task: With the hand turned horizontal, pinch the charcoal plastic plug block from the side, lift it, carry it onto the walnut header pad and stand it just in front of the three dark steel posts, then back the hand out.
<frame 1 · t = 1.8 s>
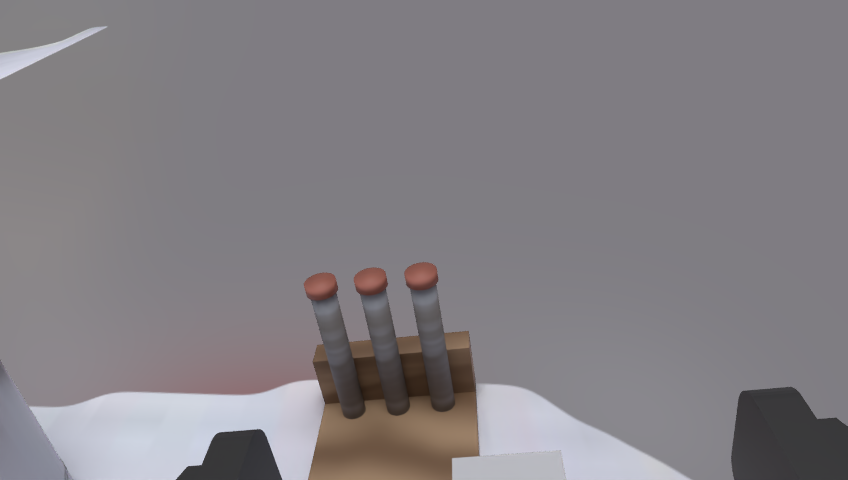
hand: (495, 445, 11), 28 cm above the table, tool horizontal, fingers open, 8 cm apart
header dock: (394, 475, 46), on the table
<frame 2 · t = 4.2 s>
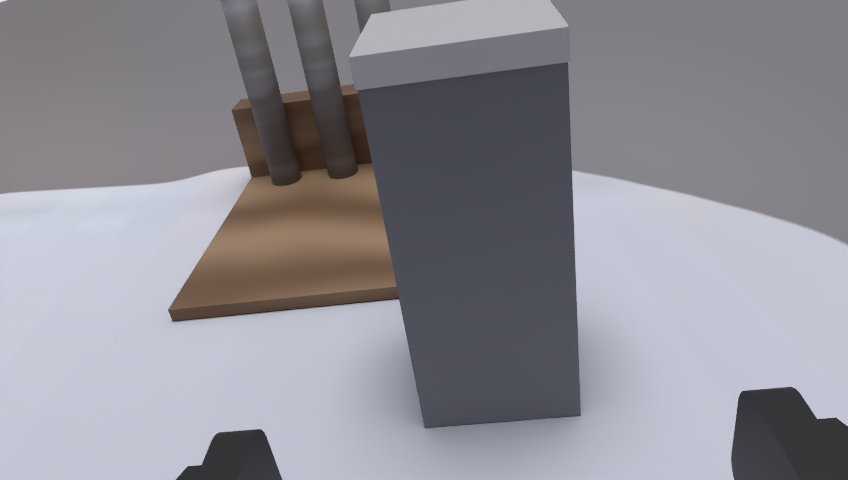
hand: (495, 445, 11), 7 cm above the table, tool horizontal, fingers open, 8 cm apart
plug block: (496, 369, 23), on the table
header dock: (329, 229, 34), on the table
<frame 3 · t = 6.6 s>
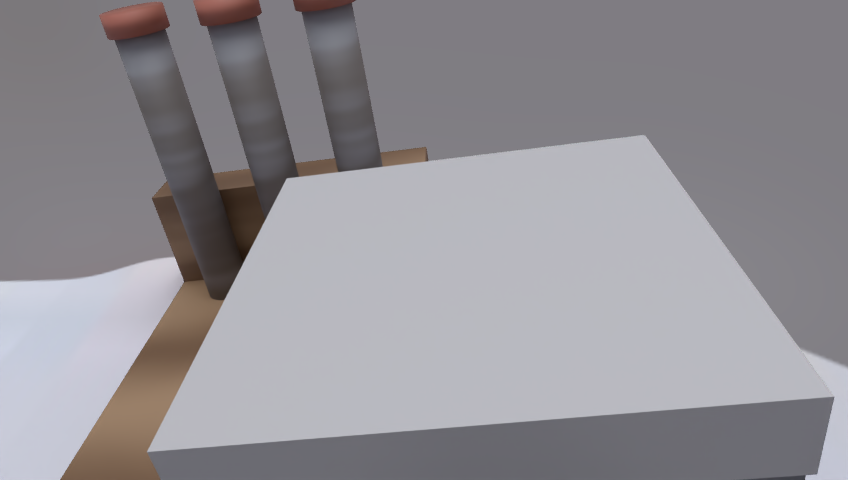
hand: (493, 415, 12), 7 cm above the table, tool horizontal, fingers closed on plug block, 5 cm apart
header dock: (278, 383, 24), on the table
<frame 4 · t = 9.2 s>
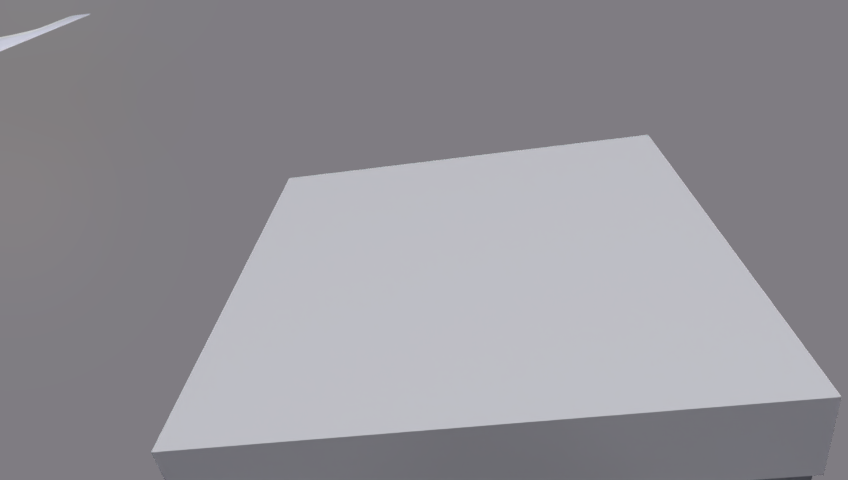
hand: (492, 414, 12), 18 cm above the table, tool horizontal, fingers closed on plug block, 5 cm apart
when the fingers open (8 cm above the table, at t = 11.6 s): plug block stays where it is, resting on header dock.
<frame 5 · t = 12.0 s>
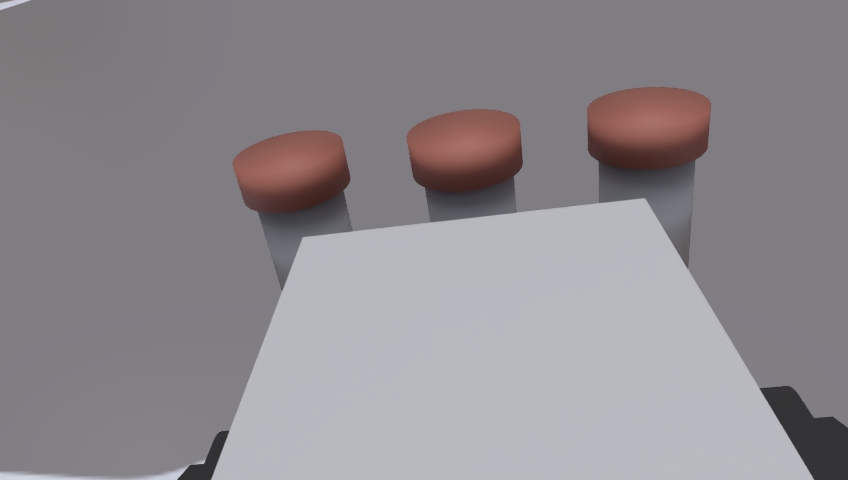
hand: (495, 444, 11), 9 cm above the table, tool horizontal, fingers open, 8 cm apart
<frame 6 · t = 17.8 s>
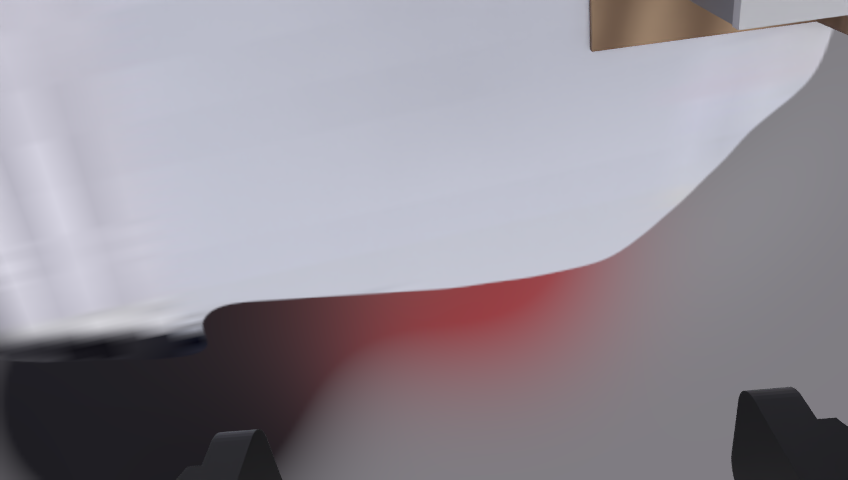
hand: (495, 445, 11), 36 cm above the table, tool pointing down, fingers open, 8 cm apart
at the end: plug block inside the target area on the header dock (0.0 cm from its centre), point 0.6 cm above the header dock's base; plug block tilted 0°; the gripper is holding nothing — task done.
